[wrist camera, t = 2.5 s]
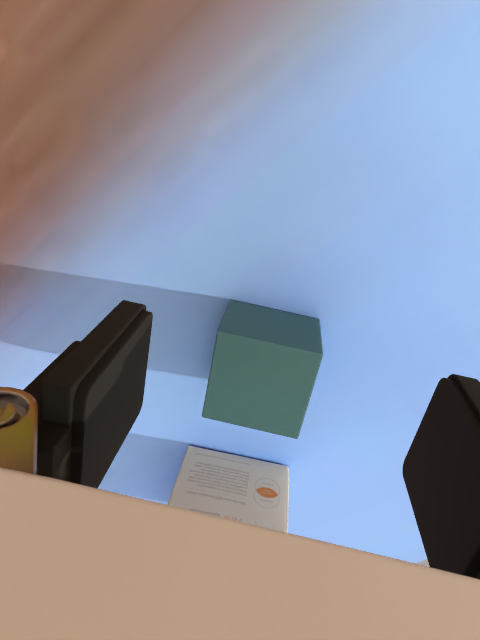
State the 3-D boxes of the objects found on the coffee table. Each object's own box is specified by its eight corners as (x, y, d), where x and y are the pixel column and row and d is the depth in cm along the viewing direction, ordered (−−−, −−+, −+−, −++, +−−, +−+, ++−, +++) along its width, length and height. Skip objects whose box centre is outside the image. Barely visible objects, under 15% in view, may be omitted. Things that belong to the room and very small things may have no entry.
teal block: (215, 375, 32) (201, 417, 27) (230, 298, 30) (217, 330, 25) (297, 394, 32) (297, 439, 27) (319, 318, 29) (323, 354, 25)
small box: (179, 503, 37) (123, 679, 25) (187, 442, 35) (130, 607, 23) (275, 524, 37) (263, 712, 25) (291, 464, 34) (287, 644, 22)
